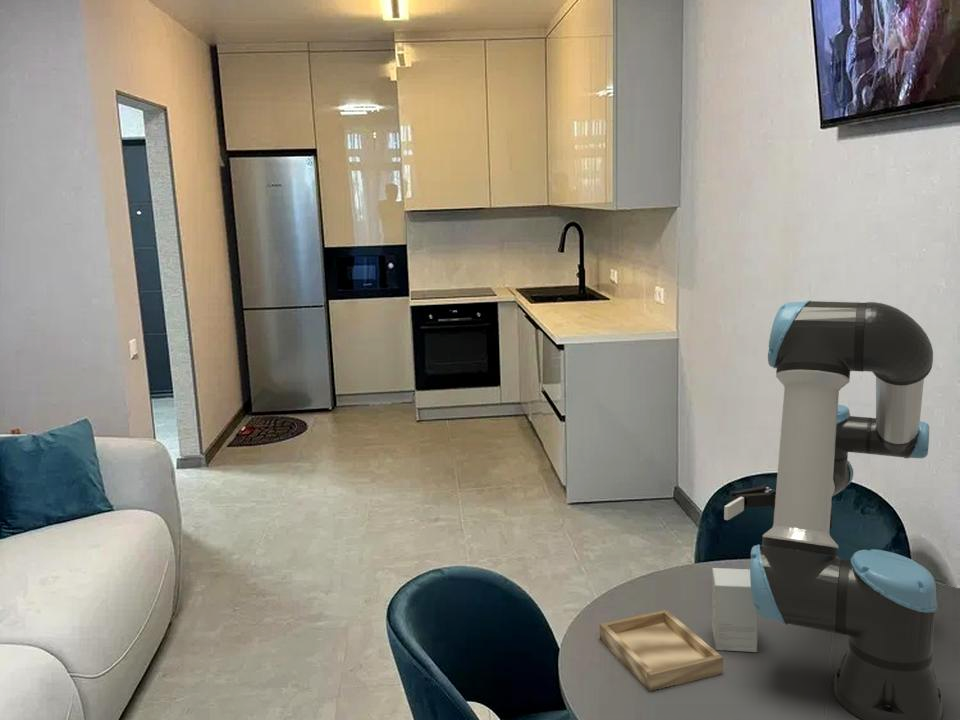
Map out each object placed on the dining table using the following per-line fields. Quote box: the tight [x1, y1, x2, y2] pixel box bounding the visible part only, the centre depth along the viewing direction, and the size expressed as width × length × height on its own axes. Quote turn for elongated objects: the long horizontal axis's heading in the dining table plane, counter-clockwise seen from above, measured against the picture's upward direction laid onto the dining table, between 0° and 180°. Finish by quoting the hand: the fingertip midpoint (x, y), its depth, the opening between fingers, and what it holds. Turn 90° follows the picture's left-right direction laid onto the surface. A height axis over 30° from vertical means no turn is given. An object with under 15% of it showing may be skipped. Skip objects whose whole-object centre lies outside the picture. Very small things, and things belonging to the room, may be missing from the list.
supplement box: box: [711, 567, 759, 653], centre depth 142 cm, size 7×7×13 cm
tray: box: [599, 609, 724, 692], centre depth 139 cm, size 18×14×3 cm
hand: (759, 522), depth 146 cm, fingers open, 13 cm apart
